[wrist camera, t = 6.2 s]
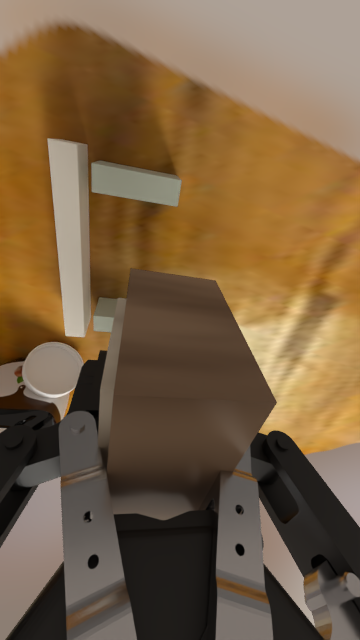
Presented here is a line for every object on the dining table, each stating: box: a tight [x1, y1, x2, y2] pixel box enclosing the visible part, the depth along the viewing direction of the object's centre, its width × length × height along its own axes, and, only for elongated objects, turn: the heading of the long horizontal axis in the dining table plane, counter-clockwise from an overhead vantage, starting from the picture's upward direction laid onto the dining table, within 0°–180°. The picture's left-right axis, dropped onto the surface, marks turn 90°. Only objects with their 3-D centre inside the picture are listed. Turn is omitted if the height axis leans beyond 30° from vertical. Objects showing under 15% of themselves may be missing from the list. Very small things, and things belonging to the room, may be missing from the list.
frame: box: [98, 268, 277, 520], centre depth 11 cm, size 10×4×7 cm, turn 169°
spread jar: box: [0, 342, 84, 433], centre depth 31 cm, size 12×11×12 cm
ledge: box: [47, 138, 182, 337], centre depth 26 cm, size 18×10×4 cm, turn 170°
